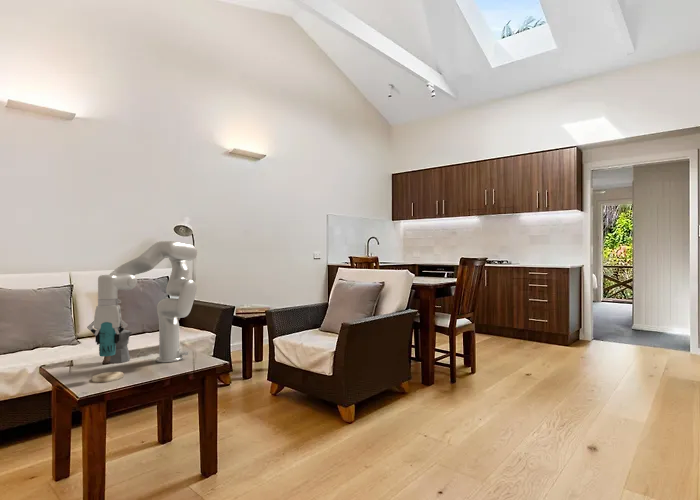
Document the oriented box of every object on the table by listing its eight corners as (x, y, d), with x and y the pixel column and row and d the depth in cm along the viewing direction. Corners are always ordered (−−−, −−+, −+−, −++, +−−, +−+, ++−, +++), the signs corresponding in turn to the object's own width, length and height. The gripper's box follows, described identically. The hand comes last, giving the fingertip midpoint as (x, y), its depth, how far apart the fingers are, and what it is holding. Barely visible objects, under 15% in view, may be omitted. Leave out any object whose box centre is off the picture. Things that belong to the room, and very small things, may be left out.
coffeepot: (137, 359, 215) (137, 324, 216) (125, 363, 206) (125, 327, 206) (110, 358, 218) (110, 324, 218) (97, 362, 208) (97, 327, 208)
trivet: (126, 373, 190) (126, 370, 190) (120, 380, 178) (120, 377, 178) (96, 375, 186) (96, 372, 186) (88, 383, 175) (88, 380, 175)
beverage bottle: (104, 356, 185) (105, 311, 186) (119, 356, 185) (119, 311, 185) (95, 360, 179) (95, 313, 179) (110, 360, 179) (110, 313, 179)
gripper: (131, 301, 189) (131, 340, 188) (88, 302, 183) (87, 343, 183) (127, 303, 181) (127, 343, 181) (82, 304, 176) (82, 346, 176)
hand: (107, 343), depth 182 cm, fingers closed on beverage bottle, 6 cm apart
